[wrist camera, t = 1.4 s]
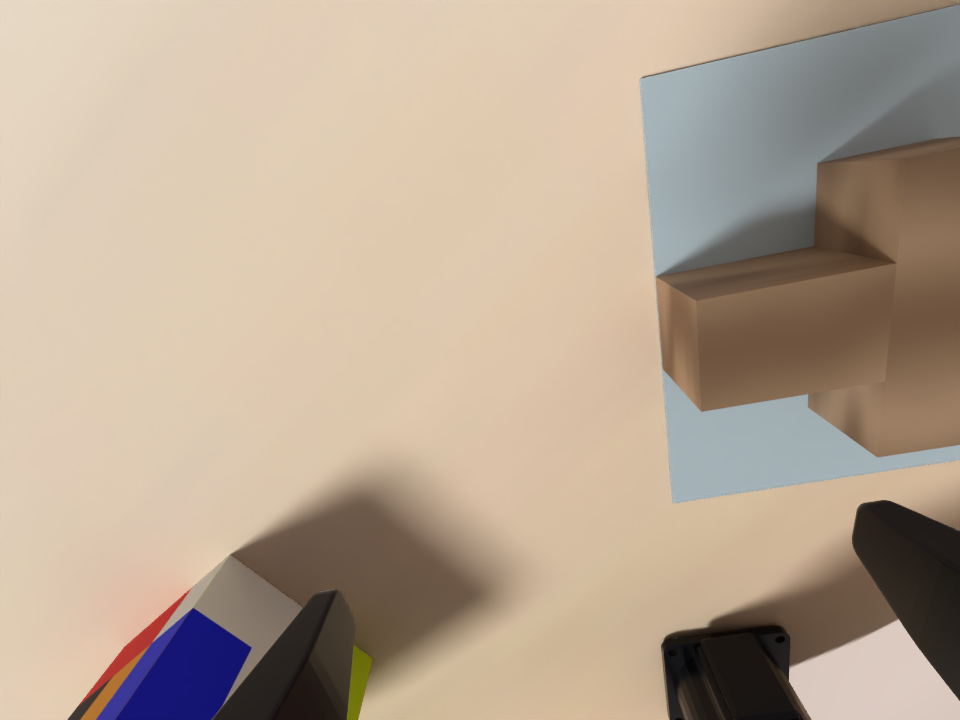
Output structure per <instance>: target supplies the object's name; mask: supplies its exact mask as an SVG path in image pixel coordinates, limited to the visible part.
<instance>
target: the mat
mask: <svg viewBox="0 0 960 720" xmlns="http://www.w3.org/2000/svg"><path fill="white" fill-rule="evenodd" d="M640 88H641V101H642V114H643V127H644V140H645V153H646V166H647V179H648V192H649V205H650V218H651V231H652V244H653V257H654V269H655V282H656V277H657V276H662V275H667V274H672V273H678V272H683V271H688V270H693V269H698V268H703V267H709V266H714V265H719V264H724V263H729V262H734V261H740V260H745V259H750V258H755V257H760V256H765V255H771V254H776V253H781V252H786V251H791V250H796V249H802V248H807V247H812V246H814V236H815V210H816V185H817V163H821V162H826V161H831V160H836V159H840V158H845V157H850V156H855V155H859V154H864V153H869V152H874V151H879V150H883V149H888V148H893V147H898V146H903V145H907V144H912V143H917V142H922V141H927V140H931V139H937V138H948V137H959V136H960V4H959V5H955V6H951V7H946V8H942V9H938V10H934V11H929V12H925V13H921V14H916V15H912V16H908V17H903V18H899V19H895V20H891V21H886V22H882V23H878V24H873V25H869V26H865V27H860V28H856V29H852V30H848V31H843V32H839V33H835V34H830V35H826V36H822V37H817V38H813V39H809V40H805V41H800V42H796V43H792V44H787V45H783V46H779V47H774V48H770V49H766V50H761V51H757V52H753V53H749V54H744V55H740V56H736V57H731V58H727V59H723V60H718V61H714V62H710V63H706V64H701V65H697V66H693V67H688V68H684V69H680V70H675V71H671V72H667V73H663V74H658V75H654V76H650V77H645V78H641V79H640ZM656 295H657V288H656ZM657 308H658V302H657ZM658 321H659V315H658ZM659 334H660V328H659ZM660 347H661V341H660ZM661 360H662V354H661ZM662 373H663V386H664V399H665V412H666V425H667V438H668V451H669V464H670V477H671V490H672V502H673V503H679V502H685V501H692V500H699V499H705V498H712V497H718V496H725V495H732V494H738V493H745V492H751V491H758V490H765V489H771V488H778V487H784V486H791V485H798V484H804V483H811V482H818V481H824V480H831V479H837V478H844V477H851V476H857V475H864V474H870V473H877V472H884V471H890V470H897V469H904V468H910V467H917V466H923V465H930V464H937V463H943V462H950V461H956V460H960V445H957V446H950V447H944V448H937V449H930V450H924V451H917V452H911V453H904V454H898V455H891V456H884V457H878V458H877V457H876V456H874V455H873V454H872V453H870V452H869V451H868V450H866V449H865V448H863V447H862V446H861V445H859V444H858V443H856V442H855V441H854V440H852V439H851V438H850V437H848V436H847V435H845V434H844V433H843V432H841V431H840V430H838V429H837V428H836V427H834V426H833V425H832V424H830V423H829V422H827V421H826V420H825V419H823V418H822V417H820V416H819V415H818V414H816V413H815V412H814V411H812V410H811V409H809V408H808V394H807V395H801V396H795V397H789V398H782V399H776V400H770V401H764V402H758V403H752V404H746V405H740V406H734V407H728V408H722V409H716V410H710V411H704V412H701V411H700V410H699V409H698V408H697V407H696V405H695V404H694V403H693V402H692V401H691V400H690V399H689V398H688V397H687V395H686V394H685V393H684V392H683V391H682V390H681V389H680V388H679V387H678V385H677V384H676V383H675V382H674V381H673V380H672V379H671V378H670V377H669V375H668V374H667V373H666V372H665V371H664V370H663V367H662Z"/></svg>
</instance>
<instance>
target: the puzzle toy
mask: <svg viewBox="0 0 960 720" xmlns="http://www.w3.org/2000/svg"><path fill="white" fill-rule="evenodd" d="M302 608H303V607H301V606H300V605H299V604H297V603H296V602H294V601H293V600H292V599H290V598H289V597H288V596H286V595H285V594H283V593H282V592H281V591H279V590H278V589H277V588H275V587H274V586H272V585H271V584H270V583H268V582H267V581H266V580H264V579H263V578H262V577H260V576H259V575H257V574H256V573H255V572H253V571H252V570H251V569H249V568H248V567H246V566H245V565H244V564H242V563H241V562H240V561H238V560H237V559H236V558H234V557H233V556H231V555H229V556H228V557H227V558H225V559H224V560H223V561H222V562H221V563H220V564H219V565H217V566H216V567H215V568H214V569H213V570H212V571H211V572H209V573H208V574H207V575H206V576H205V577H204V578H203V579H201V580H200V581H199V582H198V583H197V584H196V585H195V586H193V587H192V588H191V589H190V590H189V591H188V592H187V593H185V594H184V595H183V596H182V597H181V598H180V599H179V600H178V601H176V602H175V603H174V604H173V605H172V606H171V607H170V608H168V609H167V610H166V611H165V612H164V613H163V614H162V615H160V616H159V617H158V618H157V619H156V620H155V621H154V622H152V623H151V624H150V625H149V626H148V627H147V628H146V629H144V630H143V631H142V632H141V633H140V634H139V635H138V636H136V637H135V638H134V639H133V640H132V641H131V642H130V643H128V644H127V645H126V646H125V647H124V648H123V650H122V651H121V652H120V653H119V655H118V656H117V657H116V658H115V660H114V661H113V662H112V664H111V665H110V666H109V667H108V669H107V670H106V671H105V672H104V674H103V675H102V676H101V678H100V679H99V680H98V681H97V683H96V684H95V685H94V687H93V688H92V689H91V690H90V692H89V693H88V694H87V695H86V697H85V698H84V699H83V701H82V702H81V703H80V704H79V706H78V707H77V708H76V710H75V711H74V712H73V713H72V715H71V716H70V717H69V718H68V720H211V719H212V718H213V717H214V716H215V715H216V713H217V712H218V711H219V710H220V708H221V707H222V706H223V705H224V704H225V702H226V701H227V700H228V699H229V697H230V696H231V695H232V694H233V692H234V691H235V690H236V689H237V688H238V686H239V685H240V684H241V683H242V681H243V680H244V679H245V678H246V677H247V675H248V674H249V673H250V672H251V670H252V669H253V668H254V667H255V666H256V664H257V663H258V662H259V661H260V659H261V658H262V657H263V656H264V655H265V653H266V652H267V651H268V650H269V648H270V647H271V646H272V645H273V643H274V642H275V641H276V640H277V639H278V637H279V636H280V635H281V634H282V632H283V631H284V630H285V629H286V628H287V626H288V625H289V624H290V623H291V621H292V620H293V619H294V618H295V617H296V615H297V614H298V613H299V612H300V610H301V609H302ZM372 661H373V659H372V658H371V657H370V656H368V655H367V654H366V653H364V652H363V651H362V650H360V649H359V648H357V647H356V646H355V645H354V649H353V660H352V671H351V682H350V693H349V704H348V714H347V720H358V718H359V714H360V710H361V706H362V701H363V697H364V693H365V689H366V685H367V681H368V677H369V673H370V669H371V665H372Z"/></svg>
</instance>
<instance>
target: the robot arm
mask: <svg viewBox="0 0 960 720" xmlns="http://www.w3.org/2000/svg"><path fill="white" fill-rule="evenodd" d="M852 544H853V547H854V550H855V552H856V554H857V556H858V557H859V559H860V560H861V562H862V563H863V565H864V566H865V568H866V570H867V571H868V573H869V574H870V576H871V577H872V579H873V580H874V582H875V583H876V585H877V586H878V588H879V589H880V591H881V592H882V594H883V596H884V597H885V599H886V600H887V602H888V603H889V605H890V606H891V608H892V609H893V611H894V612H895V614H896V615H897V617H898V618H899V620H900V621H901V623H902V625H903V626H904V628H905V629H906V631H907V632H908V634H909V635H910V636H911V638H912V639H913V641H914V642H915V644H916V645H917V646H918V648H919V649H920V650H921V652H922V653H923V654H924V656H925V657H926V658H927V660H928V661H929V662H930V664H931V665H932V666H933V667H934V669H935V670H936V671H937V672H938V673H939V675H940V676H941V678H942V679H943V680H944V681H945V683H946V684H947V685H948V686H949V688H950V689H951V690H952V692H953V693H954V694H955V695H956V696H957V698H958V699H959V700H960V531H958V530H956V529H953V528H951V527H949V526H947V525H944V524H942V523H940V522H938V521H935V520H933V519H931V518H928V517H926V516H924V515H922V514H919V513H917V512H915V511H912V510H910V509H908V508H906V507H903V506H901V505H899V504H896V503H894V502H891V501H887V500H881V501H874V502H868V503H863V504H861V505H860V506H859V507H858V508H857V512H856V518H855V523H854V529H853V535H852ZM354 638H355V622H354V618H353V615H352V613H351V611H350V609H349V607H348V605H347V602H346V600H345V598H344V596H343V594H342V592H341V591H340V590H339V589H330V590H323V591H319V592H316V593H315V594H314V595H313V596H312V597H311V598H310V599H309V601H308V602H307V603H306V604H305V606H304V607H303V608H302V609H301V610H300V612H299V613H298V614H297V615H296V617H295V618H294V619H293V620H292V621H291V623H290V624H289V625H288V626H287V628H286V629H285V630H284V631H283V632H282V634H281V635H280V636H279V637H278V639H277V640H276V641H275V642H274V643H273V645H272V646H271V647H270V648H269V650H268V651H267V652H266V653H265V655H264V656H263V657H262V658H261V659H260V661H259V662H258V663H257V664H256V666H255V667H254V668H253V669H252V670H251V672H250V673H249V674H248V675H247V677H246V678H245V679H244V680H243V681H242V683H241V684H240V685H239V686H238V688H237V689H236V690H235V691H234V692H233V694H232V695H231V696H230V697H229V699H228V700H227V701H226V702H225V704H224V705H223V706H222V707H221V708H220V710H219V711H218V712H217V713H216V715H215V716H214V717H213V718H212V719H211V720H347V714H348V704H349V693H350V682H351V671H352V660H353V649H354ZM661 651H662V661H663V671H664V681H665V691H666V701H667V711H668V716H669V719H670V720H811V718H810V716H809V715H808V713H807V711H806V710H805V708H804V706H803V704H802V703H801V701H800V700H799V698H798V696H797V694H796V693H795V691H794V690H793V688H792V686H791V684H790V683H789V656H790V636H789V635H788V633H787V631H786V630H785V629H784V628H783V627H781V626H772V627H764V628H756V629H748V630H740V631H732V632H724V633H716V634H708V635H700V636H692V637H684V638H676V639H669V640H666V641H664V642H663V643H662V645H661Z"/></svg>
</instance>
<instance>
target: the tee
mask: <svg viewBox="0 0 960 720" xmlns="http://www.w3.org/2000/svg"><path fill="white" fill-rule="evenodd" d="M656 288H657V302H658V315H659V328H660V341H661V354H662V367H663V370H664V371H665V372H666V373H667V374H668V375H669V377H670V378H671V379H672V380H673V381H674V382H675V383H676V384H677V385H678V387H679V388H680V389H681V390H682V391H683V392H684V393H685V394H686V395H687V397H688V398H689V399H690V400H691V401H692V402H693V403H694V404H695V405H696V407H697V408H698V409H699V410H700V411H701V412H704V411H710V410H716V409H722V408H728V407H734V406H740V405H746V404H752V403H758V402H764V401H770V400H776V399H782V398H789V397H795V396H801V395H807V394H808V408H809V409H811V410H812V411H814V412H815V413H816V414H818V415H819V416H820V417H822V418H823V419H825V420H826V421H827V422H829V423H830V424H832V425H833V426H834V427H836V428H837V429H838V430H840V431H841V432H843V433H844V434H845V435H847V436H848V437H850V438H851V439H852V440H854V441H855V442H856V443H858V444H859V445H861V446H862V447H863V448H865V449H866V450H868V451H869V452H870V453H872V454H873V455H874V456H876V457H877V458H878V457H884V456H891V455H898V454H904V453H911V452H917V451H924V450H930V449H937V448H944V447H950V446H957V445H960V136H959V137H948V138H937V139H931V140H927V141H922V142H917V143H912V144H907V145H903V146H898V147H893V148H888V149H883V150H879V151H874V152H869V153H864V154H859V155H855V156H850V157H845V158H840V159H836V160H831V161H826V162H821V163H817V185H816V210H815V236H814V246H812V247H807V248H802V249H796V250H791V251H786V252H781V253H776V254H771V255H765V256H760V257H755V258H750V259H745V260H740V261H734V262H729V263H724V264H719V265H714V266H709V267H703V268H698V269H693V270H688V271H683V272H678V273H672V274H667V275H662V276H657V277H656Z"/></svg>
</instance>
